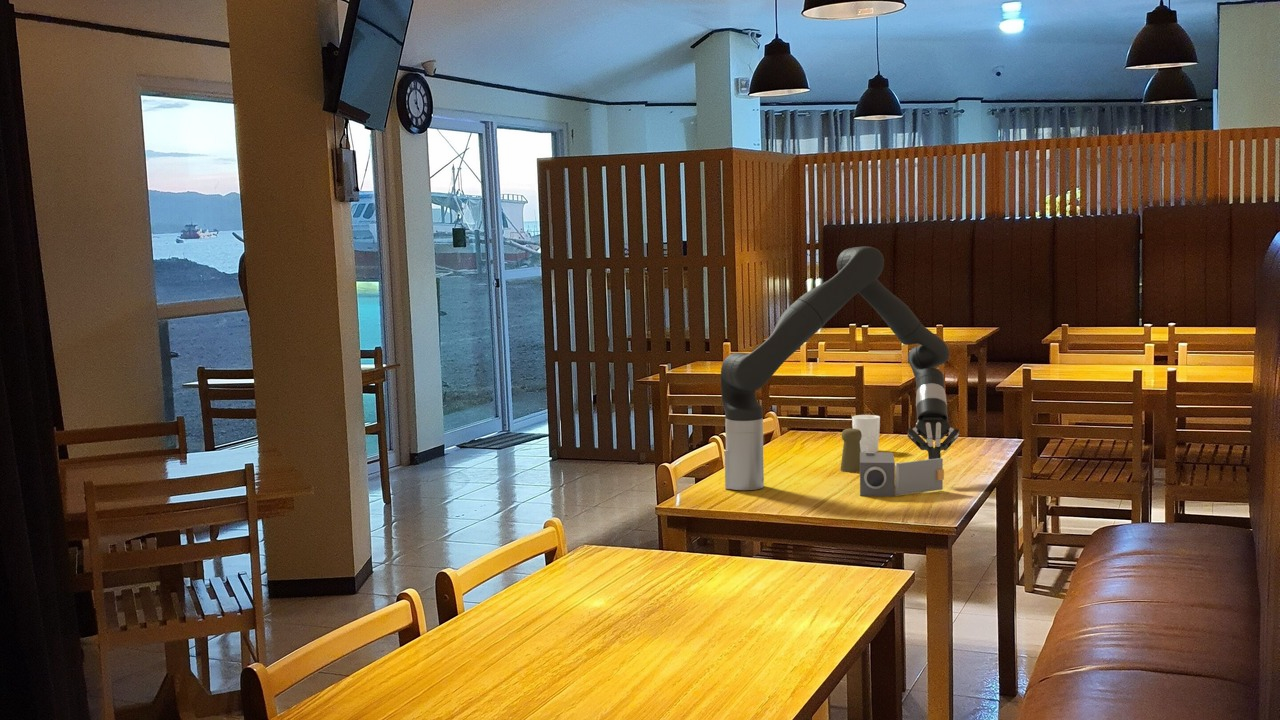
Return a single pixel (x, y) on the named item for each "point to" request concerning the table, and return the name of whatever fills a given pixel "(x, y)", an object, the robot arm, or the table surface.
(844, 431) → the cork
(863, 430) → the white cup
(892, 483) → the block
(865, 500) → the table surface
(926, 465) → the door
